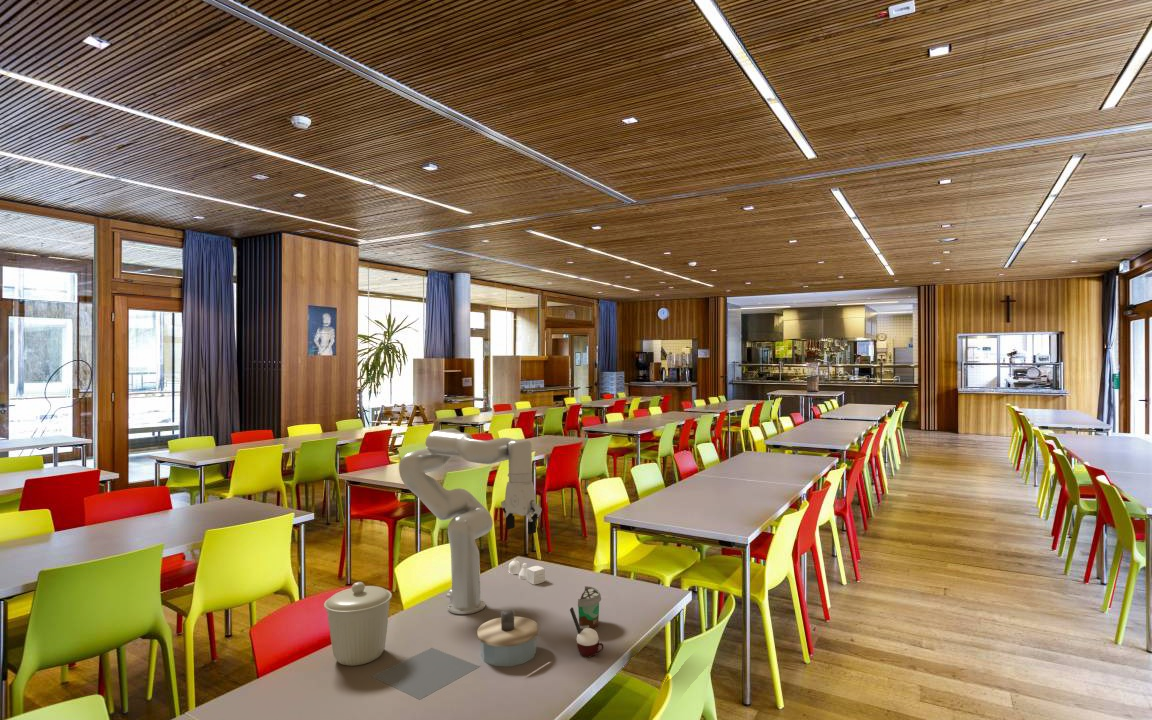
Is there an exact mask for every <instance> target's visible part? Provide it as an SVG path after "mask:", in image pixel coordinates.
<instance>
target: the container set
mask: <svg viewBox="0 0 1152 720" xmlns="http://www.w3.org/2000/svg"><path fill="white" fill-rule="evenodd" d="M545 571H546V570H545V568H544V567H542V566H540V565H534V566H530V567H528V563H527V562H523V563H522V564H521V563H520V561H518V560H517V559H516V558H515V559H513V560H511V561H510V563H509V564H508V572H509V573H511V574H517V575H518V579H520V578H521V579H520V580H526V582H527V583H529V584H531V585H538V584H541V583H544V582H545V581H546V573H545ZM509 573H508V574H509ZM511 574H510V575H511Z"/></svg>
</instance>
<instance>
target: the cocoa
mask: <svg viewBox="0 0 1152 720" xmlns="http://www.w3.org/2000/svg"><path fill="white" fill-rule="evenodd" d="M569 612H570V614H571V617H572V621H573V623H574V625H575V627H576V631H577V636H576V647H577V651H578V653H579V654H580V655H582V656H583V657H585V656H586V658H590V657H589V656H591V657H593V656H595V655H596V654H599V653H600V652H602V651H603V650H604V648H605V647H604V644H603V643H602V642H600V639H599V634H598V632H597V631H596V630H595V629H591V628H584V629H583V630H582V631H581V629H580V626H579V620H578V618H577V615H576V613H575V610H574V607H571V608H570V609H569ZM599 646H601V649H599Z"/></svg>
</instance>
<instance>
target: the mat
mask: <svg viewBox="0 0 1152 720" xmlns="http://www.w3.org/2000/svg"><path fill="white" fill-rule="evenodd" d="M480 667H481V666H480V665H477V664H475V663H472V662H470V661H467V660H464V659H462V658H460V657H457V656H455V655H451V654H450V653H447V652H444V651H441V650H439V649H436V648H434V647H430V648H429V649H426V650H424V651H422V652H419V653H418V654H415V655H414V656H411V657H409V658H407V659H405V660H403V661H401V662H398V663H397V664H394V665H392V666H390V667H388V668H385V669H384V670H382V671H379V672H378V673H376V674H374V675H371V677H372V678H373V679H375V680H377V681H380V682H381V683H383V684H386V685H387V686H390V687H392V688H394V689H396V690H398V691H400V692H403V693H405V694H406V695H409V696H411V697H413V698H415V699H417V700H419V701H420V700H422V699H424V698H426V697H429V696H430V695H431V694H433V693H435V692H436V691H439V690H440V689H442V688H444V687H446V686H448V685H449V684H451V683H453V682H454V681H457V680H459V679H460V678H462V677H464V676H466V675H467V674H469V673H471V672H473V671H475V670H477V669H479V668H480Z"/></svg>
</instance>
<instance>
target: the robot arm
mask: <svg viewBox="0 0 1152 720" xmlns="http://www.w3.org/2000/svg"><path fill="white" fill-rule="evenodd" d="M424 443H425V444H424V445H425V448H423V449H417V450H413V451H410V452H408V453H406V454H404V455H403V456H402V457H401V458H400V460H399V463H398V464H399V466H398V470H399V473H398V474H399V476H400V479H401V481H402V483H403V484H404V486H406V488H408V490H409V491H410V492H412V493H413V494H414V495H415V496H416V497H417V498H418V499H419V500H420V501H421V502H422V504H423V505H425V507H426V508H427V509H428V510H429V511H430V512H431V514H433V516H434V517H436V518H437V519H438V520H440V521H448V520H450V521H449V523H448V526H447V537H448V543H449V548H450V563H451V564H450V565H451V569H450V571H451V573H450V574H451V589H450V590H449V591H448V593H446V598H449V599H450V602H449V603H448V604H447V611H448V612H450V613H452V614H455V615H469V614H474V613H478V612H480V611H483V609H484V608H485V607H486V600H484V599H482V597H481V567H480V565H481V562H480V551H479V547H478V545H477V543H476V539H478V538H480V537H483V536H485V535H487V534H488V533H490V531H491V530H492V528H493V523H494V522H493V517H492V515H491V512H489V511H488V510H487V509H486V507H485V506H484V505H483V504H482V503H481V502H480V501H479V500H478V499H477V498H476V497H475V496H474V495H473V494H472V493H471V492H470V491H468V490H466V489H465V488H454V489H451V490H449V489H446V488H445V487H444V486H443V485H442V484H441V483H440V482H439V481H438V480H437V479H435V478H434V477H431V476H429V475H428V473H432V472H435V471H438V470H440V469H441V468H443V467H444V466H445V465H446V464H447V463H448V462H449V461H451V459H452V458H460V459H463V460H465V461H466V462H470V463H477V464H483V465H492V464H496V463H500V462H505V461H508V473H507V477H508V481H507V482H506V487H505V493H504V494H505V497H504V500H503V501H501V502H500V504H501V508H502V511H503V513H504V517H505V519H506V526H505V527H506V530H513V529H515V526H516V525H515V523H516V522H515V517H516V516H515V515H518V516H526V517H527V519H528V522H527V528H528V529H527V534H528V535H533V534H536V533H537V521H538V519H539V517H540V516H541V514H542V507H541V506H540V505H538V503H536V493H535V491H536V490H535V486H534V482H533V460H532V459H533V458H532V457H533V456H532V453H533V452H532V451H533V450H532V448H533V447H532V442H531V441H530V440H528V439H524V438H523V439H519V438H518V439H514V438H511V437H500V438H494V439H489V440H481V439H475V438H473V436H472V435H471V433H467V432H461V431H460V430H458V429H456V428H452V427H450V428H446V429H445V428H444V429H439V430H434V431H432V432H430V433H429V434H428V435H427V436H426V438H425V442H424Z"/></svg>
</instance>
